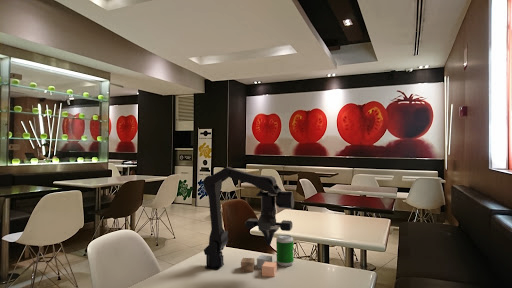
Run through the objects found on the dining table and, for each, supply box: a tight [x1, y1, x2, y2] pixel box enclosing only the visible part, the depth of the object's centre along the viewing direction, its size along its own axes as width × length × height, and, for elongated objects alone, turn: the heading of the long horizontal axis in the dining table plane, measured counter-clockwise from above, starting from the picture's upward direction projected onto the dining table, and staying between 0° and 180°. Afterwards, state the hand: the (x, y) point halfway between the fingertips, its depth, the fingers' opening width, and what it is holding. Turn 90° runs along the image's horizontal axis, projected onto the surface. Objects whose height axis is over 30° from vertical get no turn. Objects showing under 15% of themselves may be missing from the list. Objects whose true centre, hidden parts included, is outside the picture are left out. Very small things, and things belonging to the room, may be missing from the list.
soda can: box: [276, 234, 295, 267], centre depth 134 cm, size 8×8×12 cm
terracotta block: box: [261, 261, 278, 278], centre depth 124 cm, size 5×5×4 cm
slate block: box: [256, 254, 273, 269], centre depth 132 cm, size 5×5×4 cm
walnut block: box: [240, 257, 255, 273], centre depth 129 cm, size 5×5×4 cm
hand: (269, 245), depth 124 cm, fingers closed
